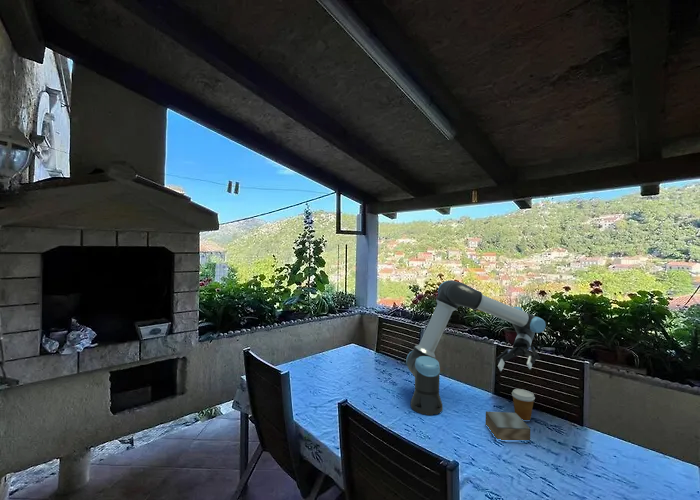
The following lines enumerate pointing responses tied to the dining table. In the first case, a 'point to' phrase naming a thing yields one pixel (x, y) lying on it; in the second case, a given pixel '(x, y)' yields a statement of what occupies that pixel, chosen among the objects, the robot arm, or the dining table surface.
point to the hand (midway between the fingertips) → (513, 367)
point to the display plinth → (507, 426)
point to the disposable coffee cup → (523, 403)
